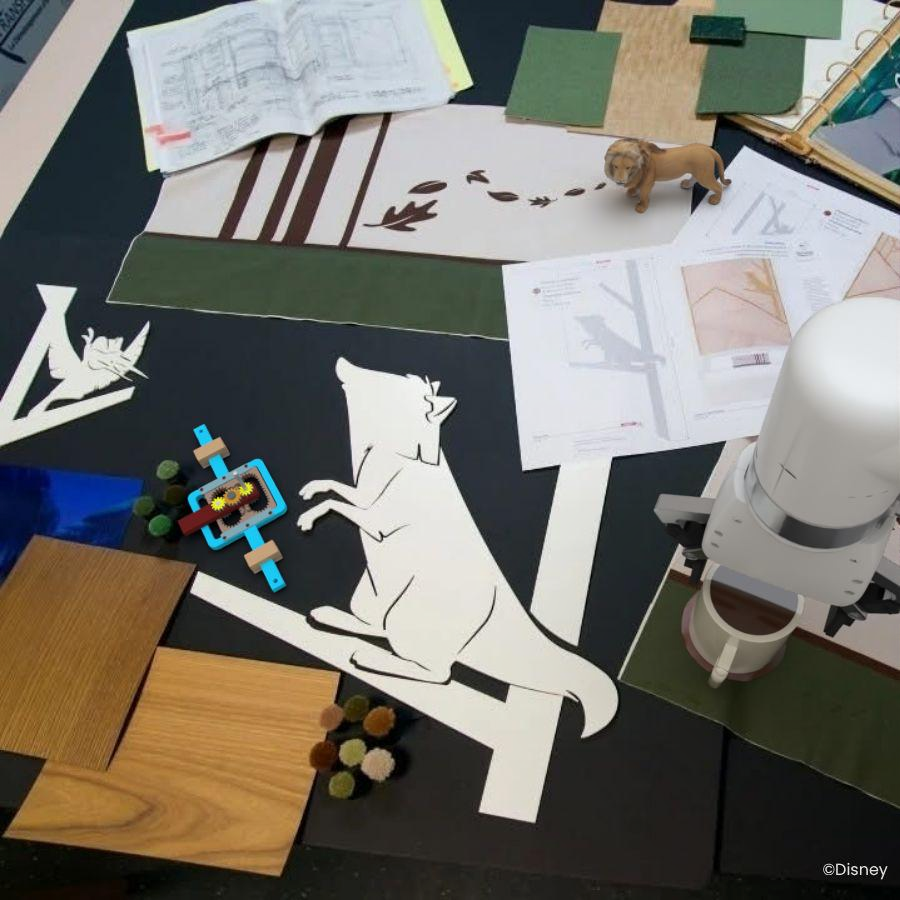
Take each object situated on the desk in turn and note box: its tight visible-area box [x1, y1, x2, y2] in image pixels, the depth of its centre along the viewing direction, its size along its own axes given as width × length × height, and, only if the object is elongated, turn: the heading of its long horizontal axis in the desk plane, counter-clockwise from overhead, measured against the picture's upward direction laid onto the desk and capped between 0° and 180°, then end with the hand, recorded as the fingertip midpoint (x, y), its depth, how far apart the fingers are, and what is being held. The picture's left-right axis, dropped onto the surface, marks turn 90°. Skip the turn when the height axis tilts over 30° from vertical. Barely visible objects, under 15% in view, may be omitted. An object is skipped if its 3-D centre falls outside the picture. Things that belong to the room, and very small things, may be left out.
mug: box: [688, 562, 806, 689], centre depth 66 cm, size 10×7×8 cm
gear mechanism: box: [177, 423, 288, 593], centre depth 80 cm, size 20×5×9 cm
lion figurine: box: [603, 137, 732, 213], centre depth 92 cm, size 15×5×9 cm, turn 100°
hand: (764, 592), depth 63 cm, fingers open, 9 cm apart
